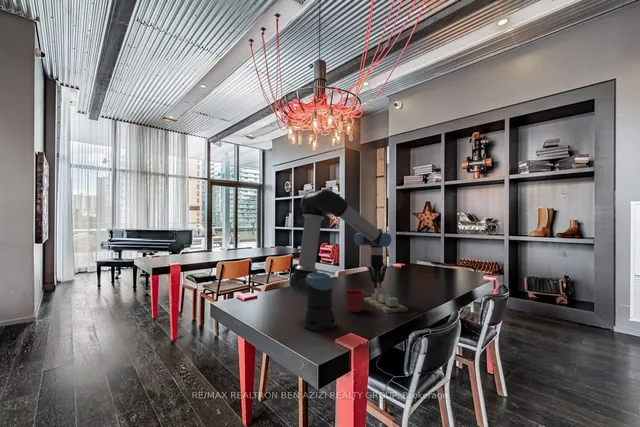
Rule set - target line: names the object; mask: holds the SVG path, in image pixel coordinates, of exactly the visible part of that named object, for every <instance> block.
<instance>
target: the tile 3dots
mask: <svg viewBox="0 0 640 427" xmlns="http://www.w3.org/2000/svg"><path fill="white" fill-rule="evenodd" d="M371 297H372V299H373V300H375V301H378V294H376V293H371Z"/></svg>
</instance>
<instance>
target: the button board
mask: <svg viewBox="0 0 640 427" xmlns="http://www.w3.org/2000/svg"><path fill="white" fill-rule="evenodd" d="M363 302H366V303H367V304H369V305H371V306H373V307H375V308H376V309H378V310H380V311H382V312H384V313H386V314H392V313H401V312H409V307H407V306H405V305H403V304H400V303H399V302H398V306H388V305H386V302H384V303H383V302H381V301H379V300H378V301H375V300H373V299H372V296H367V297H364V300H363Z"/></svg>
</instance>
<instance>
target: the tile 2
mask: <svg viewBox="0 0 640 427" xmlns="http://www.w3.org/2000/svg"><path fill="white" fill-rule="evenodd" d="M385 301H386V303H385V304H386V305H388V306H398V303H399V298H397V297H395V296H391V297H385Z"/></svg>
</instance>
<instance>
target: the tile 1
mask: <svg viewBox="0 0 640 427" xmlns="http://www.w3.org/2000/svg"><path fill="white" fill-rule="evenodd" d="M385 297H392V295H391V294H388V293H380V294H378V300H379V301H381V302H383V303H384V302H386V301H385Z"/></svg>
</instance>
